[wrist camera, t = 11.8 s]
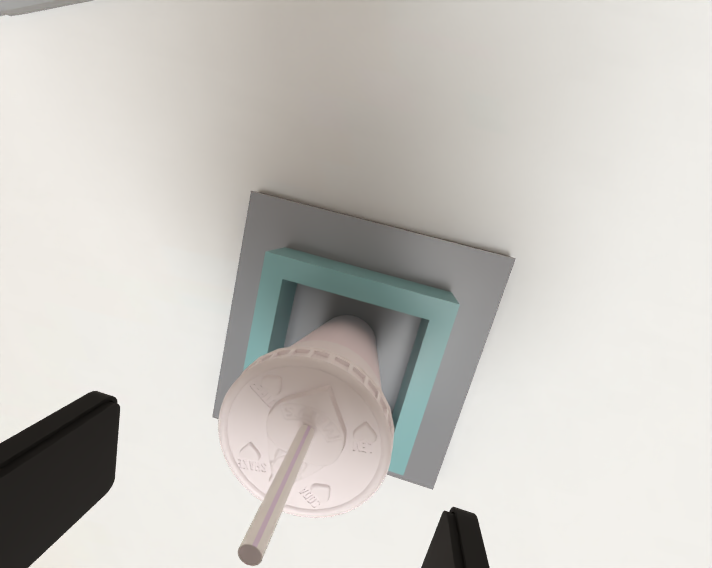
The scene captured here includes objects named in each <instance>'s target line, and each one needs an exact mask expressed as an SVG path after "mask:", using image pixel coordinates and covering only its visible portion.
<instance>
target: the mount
mask: <svg viewBox="0 0 712 568" xmlns="http://www.w3.org/2000/svg"><path fill="white" fill-rule="evenodd" d="M514 262H515V258H512V257H508V256H504V255H501V254H497V253H493V252H489V251H485V250H481V249H477V248H473V247H469V246H466V245H462V244H458V243H454V242H450V241H446V240H442V239H438V238H434V237H430V236H427V235H423V234H419V233H415V232H411V231H407V230H403V229H399V228H395V227H391V226H388V225H384V224H380V223H376V222H372V221H368V220H364V219H360V218H356V217H353V216H349V215H345V214H341V213H337V212H333V211H329V210H325V209H321V208H317V207H314V206H310V205H306V204H302V203H298V202H294V201H290V200H286V199H282V198H278V197H275V196H271V195H267V194H263V193H259V192H254V191H251V195H250V201H249V207H248V213H247V219H246V224H245V230H244V236H243V242H242V248H241V253H240V259H239V265H238V271H237V277H236V283H235V288H234V294H233V300H232V306H231V312H230V318H229V323H228V329H227V335H226V341H225V347H224V353H223V358H222V364H221V370H220V376H219V382H218V388H217V393H216V399H215V405H214V411H213V417H214V418H217V419H219V413H220V409H221V405H222V402H223V400H224V397H225V395H226V393H227V392H228V390H229V389H230V387H231V385H232V384H233V383H234V382H235V381H236V380H237V379H238V378H239V377H240V376H241V374H242V372H243V371H244V370H245V369H246V368H247V367H248V366H249V365H251V364H252V363H253V362H254V361H255V360H256V359H258V358H259V357H261V356H263V355H265V354H267V353H270V352H272V351H274V350H276V349H279V348H286V347H290V346H292V345H293V344H295V343H296V342H298V341H299V340H301V339H302V338H304V337H305V336H307V335H308V334H310V333H311V332H313V331H314V330H316V329H317V328H319V327H320V326H322V325H323V324H325V323H326V322H328V321H329V320H331V319H332V318H334V317H337V316H341V315H352V316H355V317H358V318H360V319H362V320H363V321H365V322H366V323H367V324H368V325H369V326H370V327H371V329H372V330H373V332H374V335H375V338H376V345H377V354H378V362H379V371H380V380H381V389H382V392H383V394H384V396H385V398H386V400H387V402H388V404H389V406H390V409H391V414H392V419H393V424H394V439H393V450H392V455H391V461H390V465H389V469H388V472H387V475H390V476H393V477H396V478H399V479H402V480H405V481H408V482H411V483H414V484H418V485H421V486H424V487H427V488H430V489H433V488H434V485H435V482H436V479H437V476H438V474H439V471H440V468H441V465H442V463H443V460H444V457H445V454H446V451H447V449H448V446H449V443H450V440H451V437H452V435H453V432H454V429H455V426H456V423H457V421H458V418H459V415H460V412H461V410H462V407H463V404H464V401H465V398H466V396H467V393H468V390H469V387H470V384H471V382H472V379H473V376H474V373H475V370H476V368H477V365H478V362H479V359H480V356H481V354H482V351H483V348H484V345H485V343H486V340H487V337H488V334H489V331H490V329H491V326H492V323H493V320H494V317H495V315H496V312H497V309H498V306H499V303H500V301H501V298H502V295H503V292H504V289H505V287H506V284H507V281H508V278H509V276H510V273H511V270H512V267H513V264H514Z"/></svg>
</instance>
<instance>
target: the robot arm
mask: <svg viewBox="0 0 712 568" xmlns="http://www.w3.org/2000/svg"><path fill="white" fill-rule="evenodd" d="M119 416H120V406H119V404H117V399H116V397H113V396H110V395H107V394H104V393H101V392H98V391H92V392H90V393H88V394H86V395H84V396H82V397H81V398H79V399H77V400H75V401H74V402H72V403H70V404H68V405H67V406H65V407H63V408H61V409H60V410H58V411H56V412H54V413H53V414H51V415H49V416H47V417H46V418H44V419H42V420H40V421H39V422H37V423H35V424H33V425H32V426H30V427H28V428H26V429H25V430H23V431H21V432H19V433H18V434H16V435H14V436H12V437H11V438H9V439H7V440H5V441H4V442H2V443H0V568H28V567H29V566H30V565H31V564H32V563H33V562H34V561H36V560H37V559H38V558H39V557H40V556H41V555H42V554H43V553H44V552H45V551H46V550H47V549H48V548H49V547H50V546H51V545H52V544H54V543H55V542H56V541H57V540H58V539H59V538H60V537H61V536H62V535H63V534H64V533H65V532H66V531H67V530H68V529H69V528H71V527H72V526H73V525H74V524H75V523H76V522H77V521H78V520H79V519H80V518H81V517H82V516H83V515H84V514H85V513H86V512H87V511H89V510H90V509H91V508H92V507H93V506H94V505H95V504H96V503H97V502H98V501H99V500H100V499H101V498H102V497H103V496H104V495H105V494H106V493H107V492H108V491H109V490H110V488H111V487H112V485H113V483H114V479H115V469H116V456H117V443H118V429H119ZM421 568H489V564H488V559H487V555H486V551H485V547H484V543H483V539H482V535H481V531H480V527H479V522H478V519H477V516H476V515H475V514H474V513H471V512H468V511H465V510H462V509H459V508H455V507H452V508H451V510H450V512H447V511H444V512H443V513H442V516H441V518H440V521H439V523H438V526H437V528H436V531H435V534H434V536H433V539H432V541H431V544H430V546H429V549H428V552H427V554H426V557H425V559H424V562H423V564H422V567H421Z"/></svg>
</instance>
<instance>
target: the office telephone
mask: <svg viewBox="0 0 712 568" xmlns="http://www.w3.org/2000/svg"><path fill="white" fill-rule="evenodd" d="M87 1H92V0H0V16H3V15H9V16H14V15H21V14H27V13H32V12H37V11H42V10H47V9H52V8H57V7H62V6H67V5H72V4H77V3H82V2H87Z"/></svg>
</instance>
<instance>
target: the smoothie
mask: <svg viewBox="0 0 712 568" xmlns="http://www.w3.org/2000/svg"><path fill="white" fill-rule="evenodd" d="M218 432H219V440H220V445H221V448H222V452H223V454H224V457H225V459H226V461H227V463H228V465H229V467H230V469H231V471H232V472H233V474H234V475H235V476H236V478H237V479H238V480H239V481H240V483H241V484H242V485H243V486H244V487H245V488H246V489H247V490H248V491H249V492H250V493H251V494H253V495H254V496H255V497H256V498H258V499H259V500H261V501H262V503H261V505H260V507H259V509H258V511H257V513H256V515H255V517H254V519H253V521H252V523H251V525H250V527H249V529H248V531H247V533H246V535H245V537H244V539H243V541H242V543H241V545H240V547H239V549H238V556H239V558H240V559H241V561H242V562H244V563H245V564H247V565H251V566H255V565H258V564H259V563H260V562H261V561H262V558H263V556H264V553H265V551H266V549H267V546H268V544H269V542H270V539H271V537H272V534H273V532H274V530H275V527H276V525H277V522H278V520H279V518H280V515H281V513H282V512H284V513H288V514H292V515H296V516H300V517H310V518H323V517H332V516H336V515H340V514H343V513H346V512H349V511H351V510H353V509H355V508H357V507H359V506H360V505H362V504H363V503H364V502H366V501H367V500H368V499H369V498H370V497H372V496H373V495H374V493H375V492H376V491H377V490H378V489H379V487H380V486H381V484H382V483H383V481H384V479H385V477H386V474H387V472H388V469H389V465H390V461H391V455H392V450H393V439H394V424H393V419H392V414H391V409H390V406H389V404H388V402H387V400H386V398H385V396H384V394H383V392H382V389H381V380H380V371H379V362H378V354H377V345H376V338H375V335H374V332H373V330H372V329H371V327H370V326H369V325H368V324H367V323H366V322H365V321H363V320H362V319H360V318H358V317H355V316H352V315H341V316H337V317H334V318H332V319H331V320H329V321H328V322H326V323H325V324H323V325H322V326H320V327H319V328H317V329H316V330H314V331H313V332H311V333H310V334H308V335H307V336H305V337H304V338H302V339H301V340H299V341H298V342H296V343H295V344H293V345H292V346H290V347H286V348H279V349H276V350H274V351H272V352H270V353H267V354H265V355H263V356H261V357H259V358H258V359H256V360H255V361H254V362H253V363H252V364H251V365H249V366H248V367H247V368H246V369H245V370H244V371H243V372H242V374H241V376H240V377H239V378H238V379H237V380H236V381H235V382H234V383H233V384H232V385H231V387H230V389H229V390H228V392H227V393H226V395H225V397H224V400H223V402H222V405H221V409H220V413H219V420H218Z"/></svg>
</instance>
